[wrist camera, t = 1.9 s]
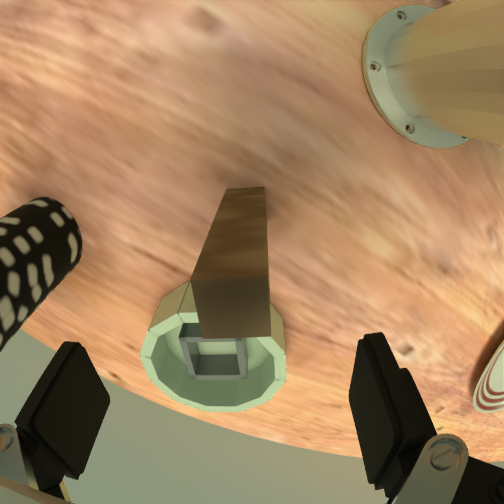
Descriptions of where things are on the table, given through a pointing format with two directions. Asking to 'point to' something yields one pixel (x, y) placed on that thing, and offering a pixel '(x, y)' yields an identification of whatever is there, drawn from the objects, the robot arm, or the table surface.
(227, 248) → the wooden rectangular post
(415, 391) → the robot arm
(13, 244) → the white-spotted black cylinder
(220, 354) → the green faceted socket ring
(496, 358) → the dinner plate
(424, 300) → the table surface
